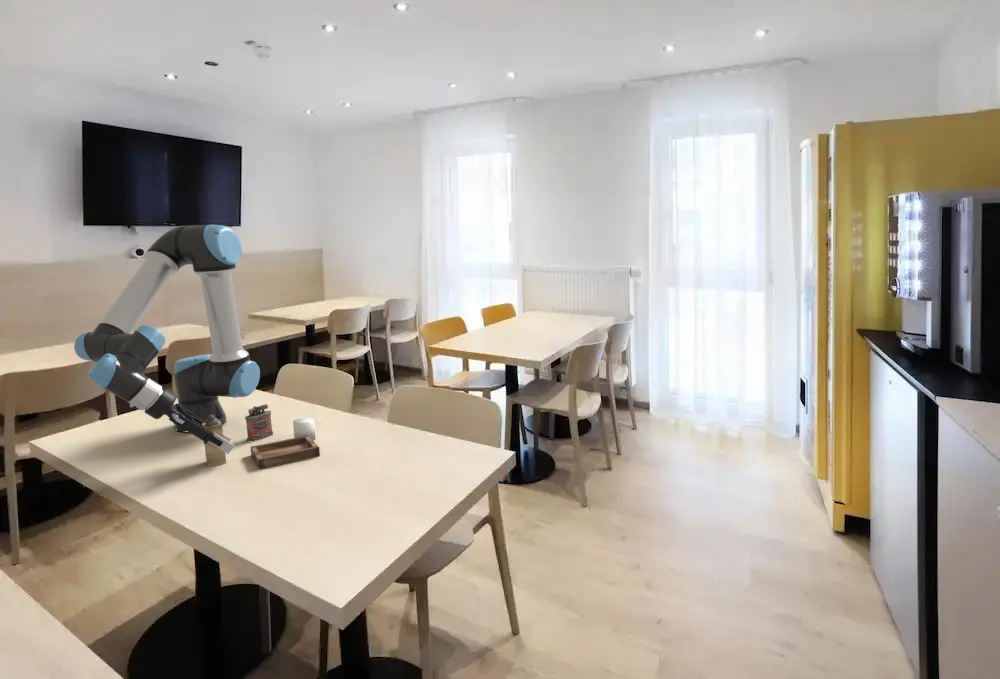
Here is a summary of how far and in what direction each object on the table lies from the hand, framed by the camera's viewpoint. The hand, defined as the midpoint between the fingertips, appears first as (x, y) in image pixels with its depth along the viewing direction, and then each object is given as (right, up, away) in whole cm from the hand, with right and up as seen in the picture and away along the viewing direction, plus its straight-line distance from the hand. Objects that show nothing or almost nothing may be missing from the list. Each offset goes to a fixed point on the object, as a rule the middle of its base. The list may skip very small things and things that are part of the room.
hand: (229, 446), depth 160 cm
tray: (+15, -3, +3) cm, 15 cm away
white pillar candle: (+16, -1, +15) cm, 22 cm away
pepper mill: (-3, -4, -1) cm, 5 cm away
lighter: (+1, -1, +18) cm, 18 cm away
